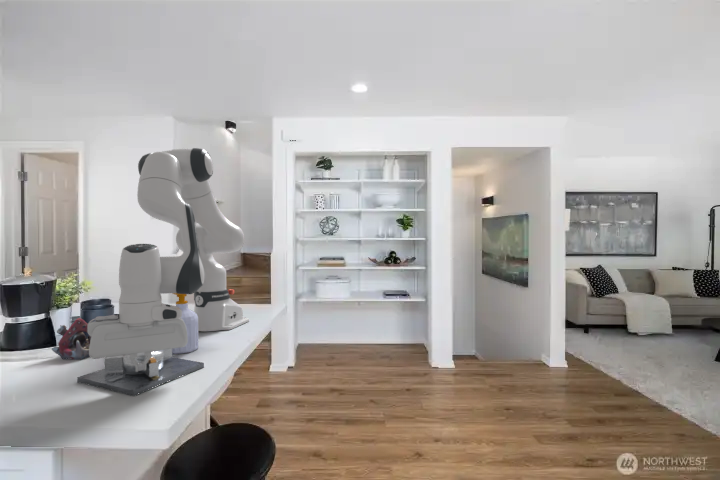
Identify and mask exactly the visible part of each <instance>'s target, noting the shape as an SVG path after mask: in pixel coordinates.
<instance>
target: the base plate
mask: <svg viewBox="0 0 720 480" xmlns="http://www.w3.org/2000/svg"><path fill="white" fill-rule="evenodd" d="M204 367H205V363H204V362H201V361H197V360H196V361H195V360H191V359H190V360H189V359H184V358H179V357H174V356H172V358H169V359H167V360H164V366H163V367H162V368H161V369H159V375H157V376H153V377H149V376H148V375H146V374H136V375H132V374H125V373H124V372H123V370H118V371H105V368H102V369H98V370H96V371H92V372H89V373H86V374H83V375H80V376H78V377H77V379H76V380H77V383H79V384H84V385H88V386H91V387H96V388H99V389H104V390H107V391H111V392H116V393H119V394H124V395H127V396H131V395H132V397H135V395H136V396H137V394H138V393H140V394H142V393H141V392H143V391H145V392H147V391H146V390H148V389H150V388H152V387H155V386H157V385H159V384H162V383H164V382H167V381H169V380H172V379H174V380H176V379H175V378H177V377H179V376H182V375H184V376H186V375H188V373H189V374H191V373H193V371H194V372H196V371H198V370H200V369H203V368H204ZM195 370H196V371H195ZM190 372H191V373H190ZM185 374H186V375H185ZM182 377H183V376H182ZM179 378H180V377H179ZM177 379H178V378H177ZM172 381H173V380H172ZM169 382H170V381H169ZM167 383H168V382H167ZM162 385H163V384H162ZM157 387H158V386H157ZM155 388H156V387H155ZM150 390H151V389H150ZM148 391H149V390H148ZM143 393H144V392H143ZM138 395H139V394H138Z"/></svg>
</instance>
